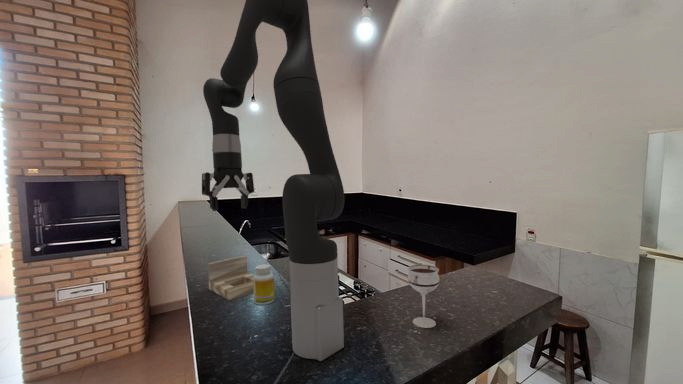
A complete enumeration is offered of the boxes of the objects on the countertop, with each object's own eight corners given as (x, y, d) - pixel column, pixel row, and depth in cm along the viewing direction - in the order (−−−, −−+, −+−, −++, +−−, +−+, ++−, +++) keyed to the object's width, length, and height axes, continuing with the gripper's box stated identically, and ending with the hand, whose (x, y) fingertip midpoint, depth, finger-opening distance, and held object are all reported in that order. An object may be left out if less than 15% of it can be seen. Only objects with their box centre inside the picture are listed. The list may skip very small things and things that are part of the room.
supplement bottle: (250, 301, 80) (249, 266, 80) (269, 296, 84) (267, 262, 83) (259, 307, 76) (257, 270, 76) (278, 301, 79) (276, 266, 79)
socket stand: (267, 288, 90) (266, 262, 89) (229, 300, 81) (228, 271, 81) (245, 278, 99) (244, 255, 99) (208, 289, 90) (207, 263, 90)
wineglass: (431, 314, 70) (430, 263, 69) (446, 328, 63) (445, 272, 62) (403, 317, 68) (402, 265, 68) (416, 331, 62) (415, 274, 61)
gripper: (207, 149, 76) (210, 212, 76) (256, 152, 86) (259, 207, 86) (195, 152, 81) (199, 211, 81) (243, 154, 91) (246, 207, 92)
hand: (230, 209), depth 84 cm, fingers open, 8 cm apart
